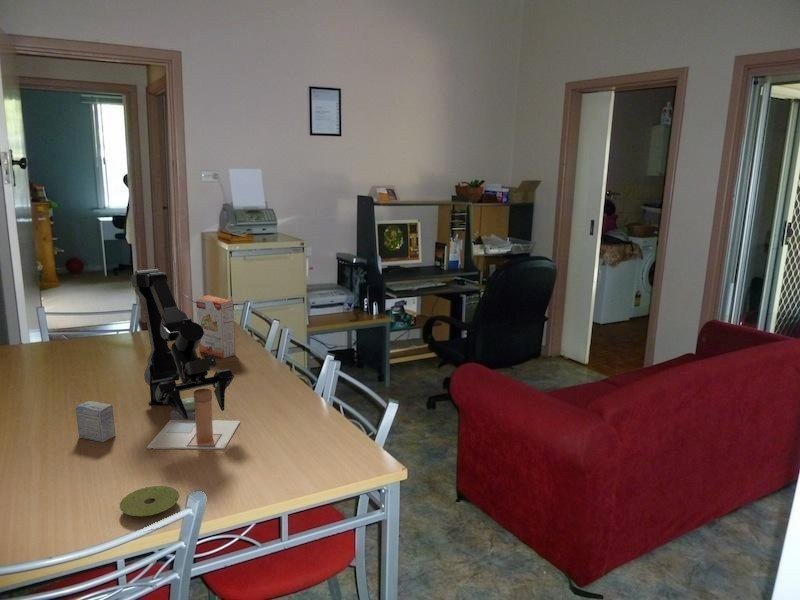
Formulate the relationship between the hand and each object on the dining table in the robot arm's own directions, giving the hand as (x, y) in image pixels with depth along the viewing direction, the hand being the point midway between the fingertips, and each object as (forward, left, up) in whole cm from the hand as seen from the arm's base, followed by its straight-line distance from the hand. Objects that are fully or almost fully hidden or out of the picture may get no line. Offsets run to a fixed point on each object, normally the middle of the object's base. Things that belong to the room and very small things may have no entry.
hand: (205, 414), depth 149 cm
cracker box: (-18, +72, -8) cm, 75 cm away
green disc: (-3, -29, -8) cm, 30 cm away
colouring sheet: (-4, +5, -8) cm, 10 cm away
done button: (-10, +17, -7) cm, 21 cm away
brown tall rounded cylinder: (-1, +1, -7) cm, 7 cm away
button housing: (-10, +17, -8) cm, 21 cm away
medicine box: (-29, +3, -8) cm, 30 cm away
